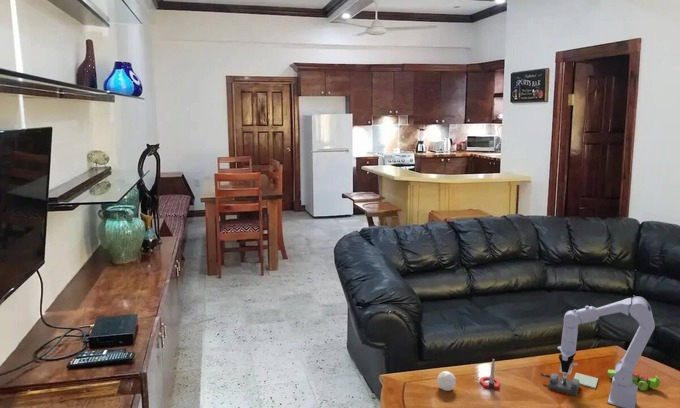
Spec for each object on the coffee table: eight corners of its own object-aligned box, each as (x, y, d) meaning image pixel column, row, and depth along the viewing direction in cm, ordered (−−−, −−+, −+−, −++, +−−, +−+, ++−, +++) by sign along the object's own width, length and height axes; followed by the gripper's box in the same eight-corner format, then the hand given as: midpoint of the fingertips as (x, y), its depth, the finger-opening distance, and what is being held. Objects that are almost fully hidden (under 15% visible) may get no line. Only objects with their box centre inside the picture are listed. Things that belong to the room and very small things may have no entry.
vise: (579, 386, 223) (581, 372, 221) (576, 396, 215) (577, 381, 214) (542, 376, 230) (543, 362, 229) (538, 385, 223) (539, 371, 222)
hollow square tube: (576, 372, 220) (578, 361, 219) (575, 376, 216) (576, 365, 215) (561, 368, 223) (562, 357, 222) (559, 372, 220) (560, 361, 219)
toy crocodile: (605, 380, 229) (607, 367, 228) (607, 374, 234) (609, 361, 233) (657, 395, 218) (660, 381, 217) (659, 388, 223) (661, 375, 222)
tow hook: (478, 378, 228) (480, 388, 219) (480, 350, 227) (483, 359, 218) (498, 380, 227) (501, 390, 218) (500, 352, 225) (504, 361, 216)
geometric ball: (449, 393, 220) (462, 380, 218) (443, 396, 213) (456, 382, 211) (436, 379, 223) (448, 366, 222) (430, 381, 216) (443, 367, 215)
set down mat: (598, 379, 229) (598, 378, 229) (595, 388, 221) (595, 387, 221) (575, 373, 233) (575, 372, 233) (572, 382, 226) (572, 381, 226)
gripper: (562, 331, 226) (558, 360, 228) (555, 343, 214) (552, 374, 216) (579, 335, 222) (576, 364, 225) (574, 348, 210) (570, 379, 213)
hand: (565, 369), depth 220 cm, fingers closed on hollow square tube, 4 cm apart
